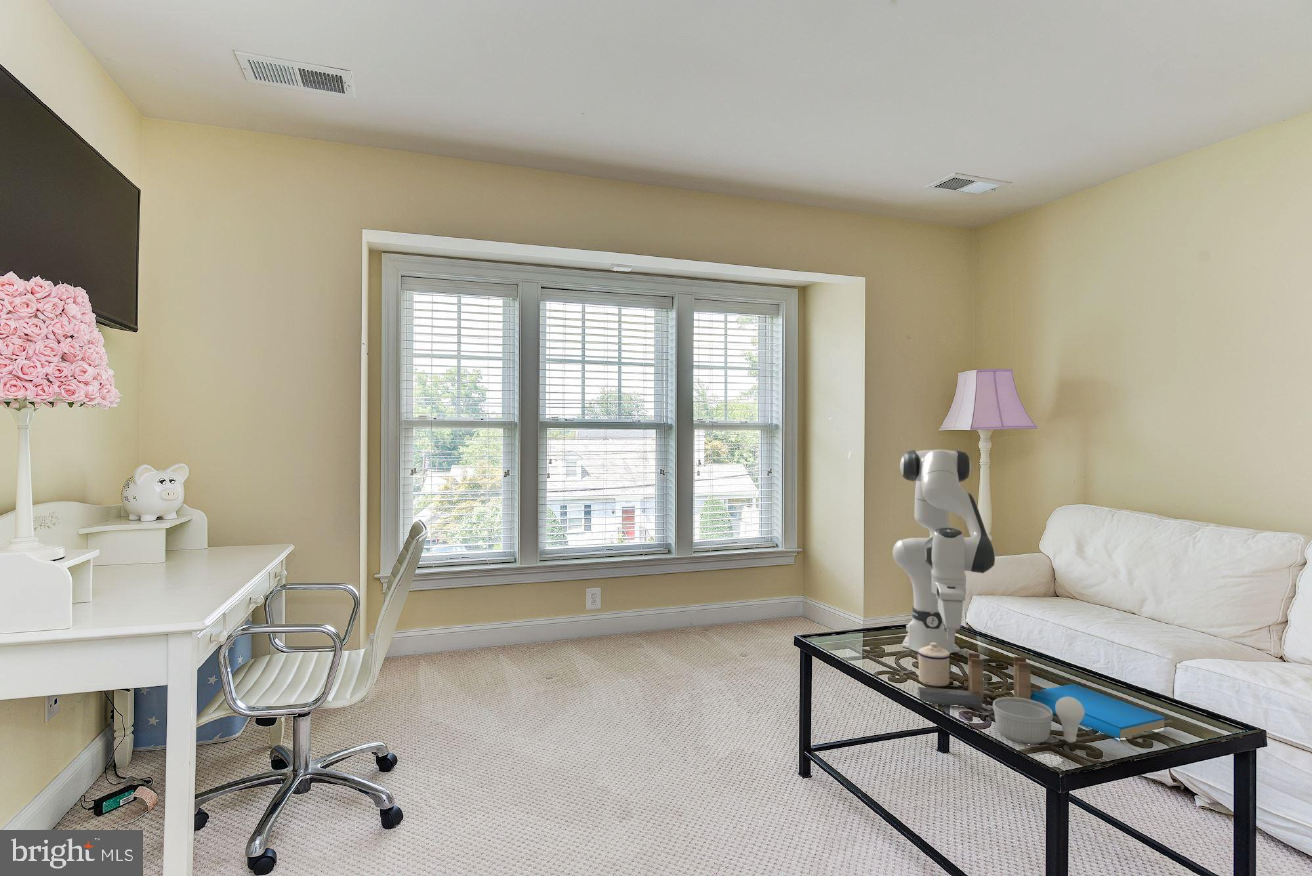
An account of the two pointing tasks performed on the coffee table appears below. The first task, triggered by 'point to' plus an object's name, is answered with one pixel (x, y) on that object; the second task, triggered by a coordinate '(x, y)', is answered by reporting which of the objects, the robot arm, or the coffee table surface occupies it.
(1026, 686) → the post
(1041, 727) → the ramekin
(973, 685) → the post
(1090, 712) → the book
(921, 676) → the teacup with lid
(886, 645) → the coffee table surface
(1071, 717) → the lightbulb
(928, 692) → the rail
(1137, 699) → the coffee table surface
